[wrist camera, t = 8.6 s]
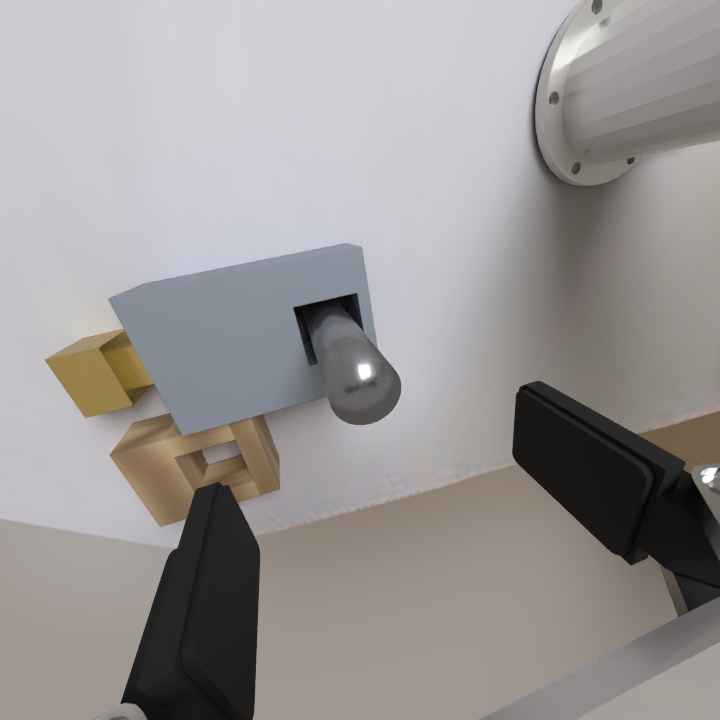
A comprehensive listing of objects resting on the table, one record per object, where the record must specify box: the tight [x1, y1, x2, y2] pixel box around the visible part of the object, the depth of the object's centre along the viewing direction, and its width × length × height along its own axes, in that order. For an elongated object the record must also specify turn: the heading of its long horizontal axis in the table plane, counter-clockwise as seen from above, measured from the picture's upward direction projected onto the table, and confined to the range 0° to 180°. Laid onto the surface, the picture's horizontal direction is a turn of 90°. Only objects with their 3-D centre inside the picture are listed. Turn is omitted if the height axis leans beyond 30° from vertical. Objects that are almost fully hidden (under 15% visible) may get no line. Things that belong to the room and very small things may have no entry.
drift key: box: [45, 329, 154, 418], centre depth 22 cm, size 13×4×4 cm, turn 100°
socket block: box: [108, 243, 378, 436], centre depth 22 cm, size 15×10×5 cm, turn 100°
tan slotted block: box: [110, 413, 280, 527], centre depth 26 cm, size 10×8×4 cm
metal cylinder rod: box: [304, 298, 401, 425], centre depth 19 cm, size 3×3×14 cm
